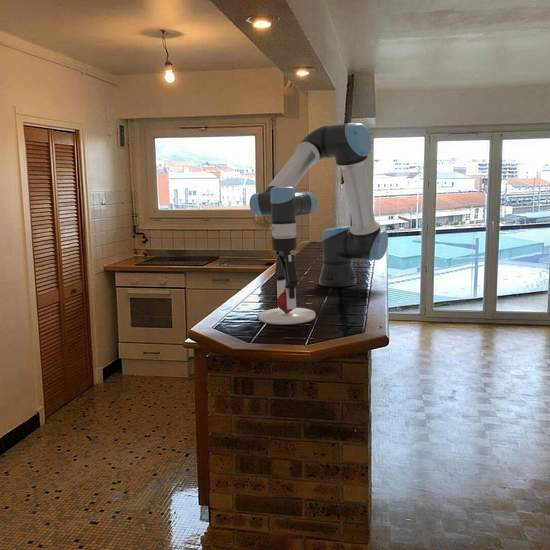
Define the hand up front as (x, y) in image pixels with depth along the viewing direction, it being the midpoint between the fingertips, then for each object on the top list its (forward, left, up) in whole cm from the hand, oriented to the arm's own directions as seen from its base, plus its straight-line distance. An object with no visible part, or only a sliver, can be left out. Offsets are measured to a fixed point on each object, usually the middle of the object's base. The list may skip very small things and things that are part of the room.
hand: (286, 304), depth 187 cm
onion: (0, 0, -3) cm, 3 cm away
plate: (0, 0, -4) cm, 4 cm away
